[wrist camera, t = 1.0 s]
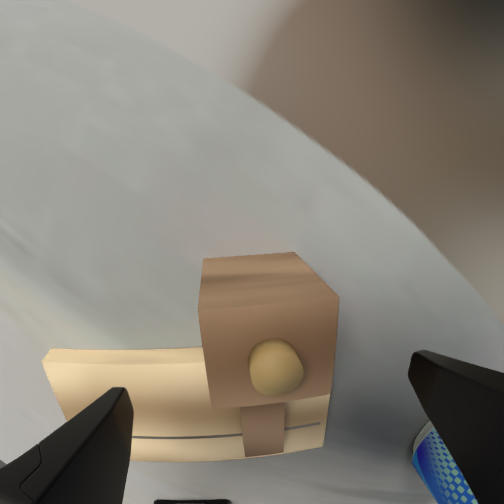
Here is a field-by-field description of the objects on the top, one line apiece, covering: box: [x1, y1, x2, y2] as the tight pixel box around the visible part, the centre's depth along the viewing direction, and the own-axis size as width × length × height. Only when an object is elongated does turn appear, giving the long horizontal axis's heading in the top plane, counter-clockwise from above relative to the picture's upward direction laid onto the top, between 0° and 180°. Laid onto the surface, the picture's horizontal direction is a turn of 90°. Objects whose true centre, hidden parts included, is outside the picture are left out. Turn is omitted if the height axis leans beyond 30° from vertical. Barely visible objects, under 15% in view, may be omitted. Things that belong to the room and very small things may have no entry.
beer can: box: [412, 421, 478, 504], centre depth 14 cm, size 8×8×16 cm
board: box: [42, 347, 330, 462], centre depth 16 cm, size 8×16×2 cm, turn 92°
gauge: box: [198, 252, 339, 457], centre depth 13 cm, size 11×4×7 cm, turn 2°
